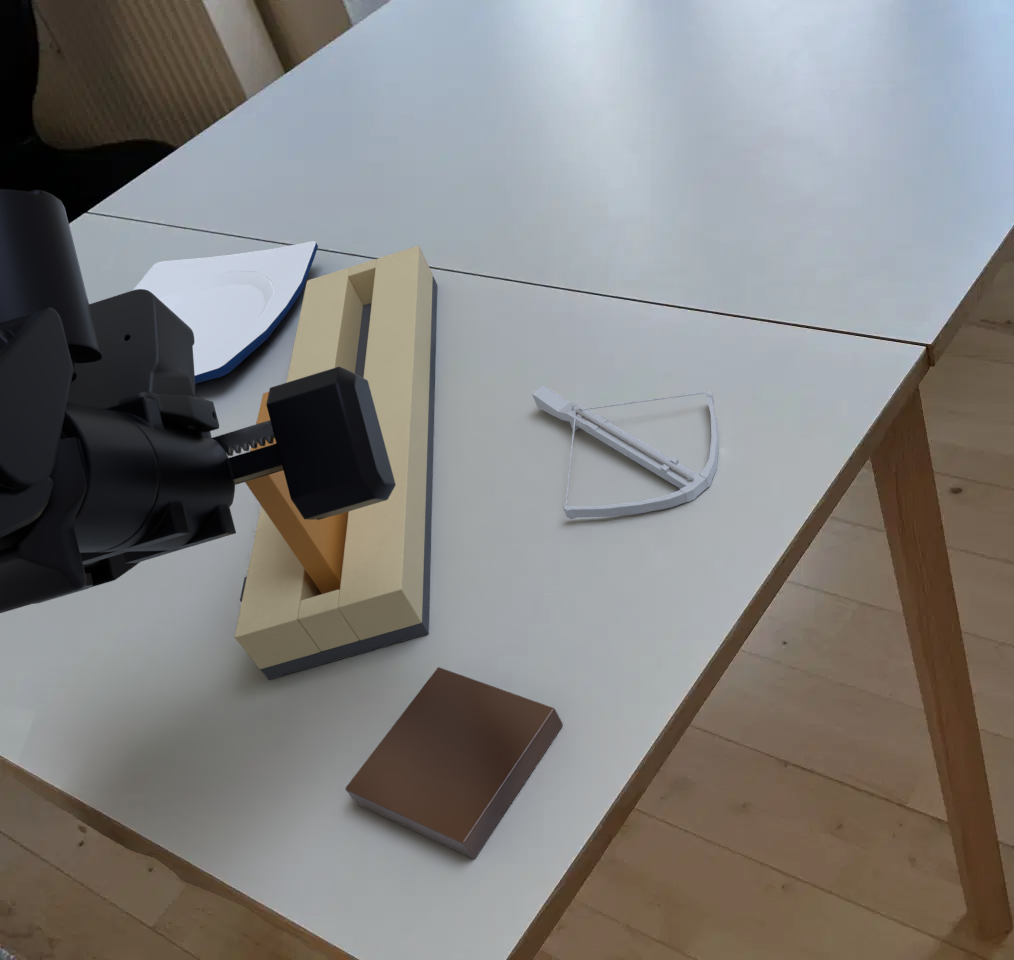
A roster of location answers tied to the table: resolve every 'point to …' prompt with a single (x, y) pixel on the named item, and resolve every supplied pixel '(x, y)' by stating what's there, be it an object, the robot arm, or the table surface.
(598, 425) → the crossbow
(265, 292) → the plate
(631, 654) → the table surface
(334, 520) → the toast
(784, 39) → the table surface
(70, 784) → the table surface
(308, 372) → the toaster
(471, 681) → the bread board
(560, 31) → the table surface
